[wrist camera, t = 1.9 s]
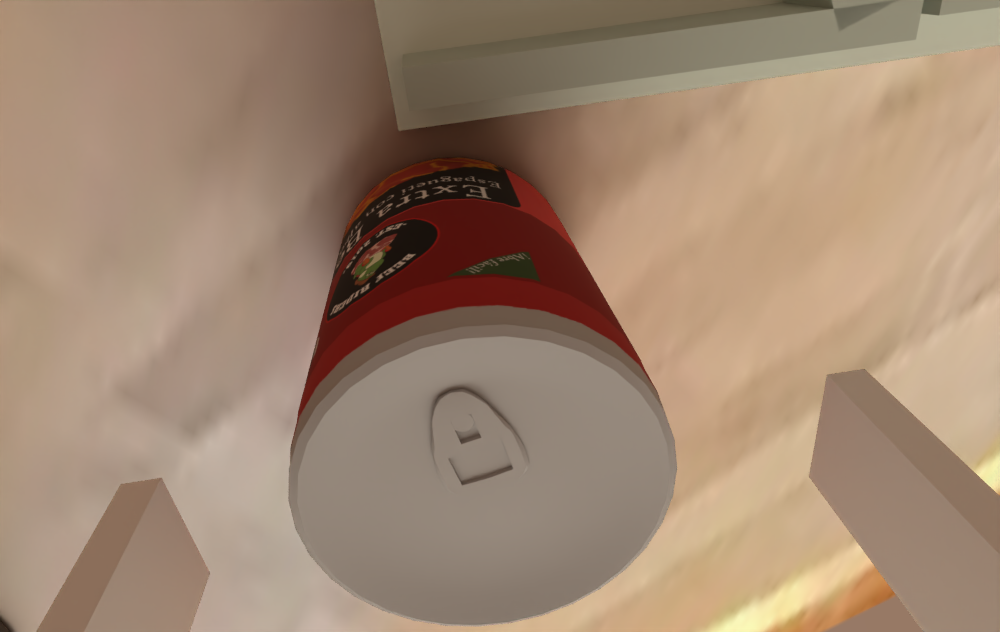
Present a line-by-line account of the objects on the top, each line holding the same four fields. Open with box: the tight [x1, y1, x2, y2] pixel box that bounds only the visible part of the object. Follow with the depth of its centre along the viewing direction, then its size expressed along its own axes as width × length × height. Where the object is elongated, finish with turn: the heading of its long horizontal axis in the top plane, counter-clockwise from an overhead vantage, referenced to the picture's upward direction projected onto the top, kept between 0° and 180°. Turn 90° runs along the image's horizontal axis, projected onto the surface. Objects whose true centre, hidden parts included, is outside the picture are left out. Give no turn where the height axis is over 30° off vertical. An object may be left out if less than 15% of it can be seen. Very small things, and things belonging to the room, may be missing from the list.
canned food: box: [289, 158, 677, 626], centre depth 17 cm, size 8×8×11 cm
